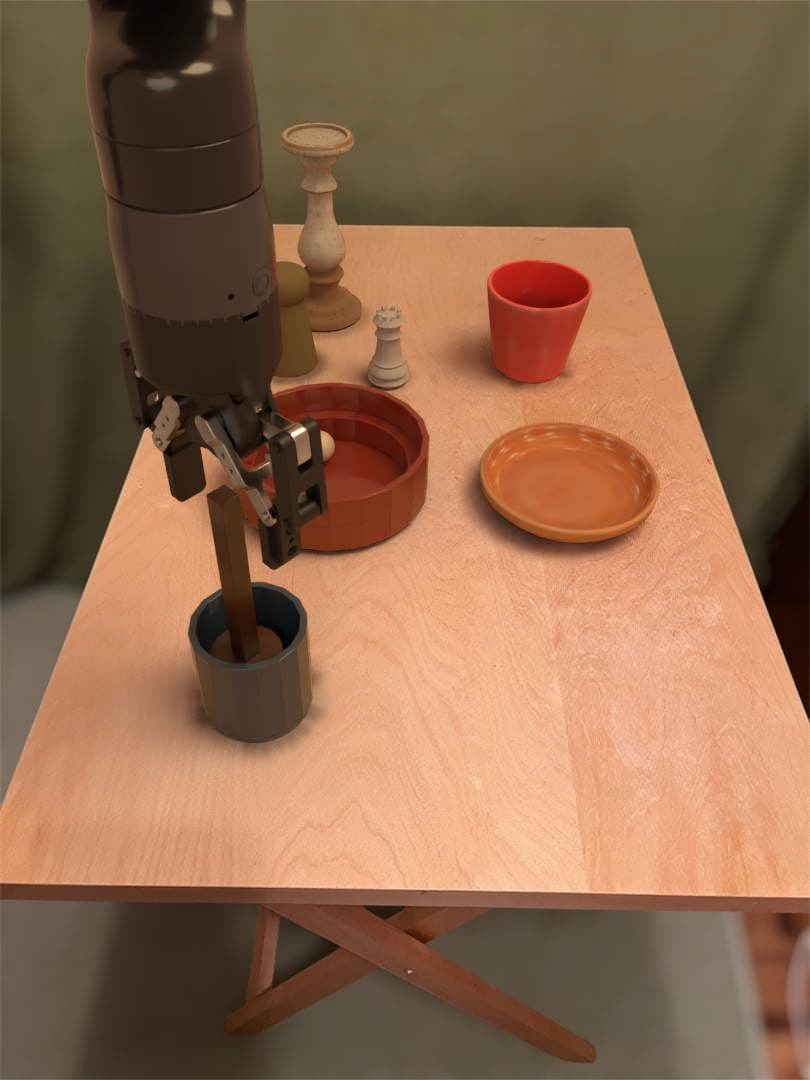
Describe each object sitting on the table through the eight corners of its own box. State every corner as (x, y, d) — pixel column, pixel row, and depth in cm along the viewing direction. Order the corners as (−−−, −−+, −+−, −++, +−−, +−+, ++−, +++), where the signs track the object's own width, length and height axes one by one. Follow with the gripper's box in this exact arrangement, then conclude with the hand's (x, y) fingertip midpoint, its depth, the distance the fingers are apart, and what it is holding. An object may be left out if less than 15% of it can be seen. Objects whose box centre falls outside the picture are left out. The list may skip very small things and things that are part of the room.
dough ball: (293, 451, 84) (307, 421, 84) (301, 458, 86) (315, 430, 87) (322, 463, 83) (336, 434, 83) (329, 470, 86) (343, 442, 86)
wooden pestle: (249, 737, 63) (216, 535, 50) (203, 697, 65) (160, 495, 52) (302, 695, 66) (284, 493, 53) (256, 658, 68) (228, 456, 55)
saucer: (518, 427, 91) (521, 402, 89) (674, 477, 86) (681, 452, 84) (447, 519, 81) (449, 493, 79) (620, 583, 76) (626, 557, 73)
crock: (252, 762, 62) (240, 689, 57) (181, 699, 66) (164, 625, 60) (334, 695, 66) (331, 622, 61) (264, 639, 70) (254, 565, 65)
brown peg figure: (283, 341, 102) (276, 248, 95) (328, 357, 100) (324, 263, 93) (250, 366, 98) (239, 271, 91) (296, 383, 96) (289, 287, 89)
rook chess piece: (394, 395, 95) (395, 327, 89) (359, 382, 97) (357, 314, 91) (416, 375, 98) (419, 308, 92) (381, 363, 99) (382, 296, 94)
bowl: (329, 585, 75) (327, 531, 70) (198, 491, 83) (188, 438, 79) (464, 489, 84) (469, 436, 80) (334, 413, 92) (332, 362, 88)
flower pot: (597, 379, 98) (613, 297, 91) (506, 400, 95) (516, 315, 88) (549, 332, 105) (561, 252, 98) (463, 349, 102) (469, 268, 95)
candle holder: (271, 316, 106) (256, 136, 93) (319, 288, 112) (311, 113, 98) (329, 340, 103) (322, 156, 89) (376, 310, 108) (377, 132, 94)
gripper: (47, 252, 45) (112, 502, 56) (233, 361, 38) (265, 621, 49) (171, 208, 49) (208, 449, 60) (359, 299, 42) (362, 552, 53)
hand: (234, 526), depth 55 cm, fingers open, 8 cm apart
